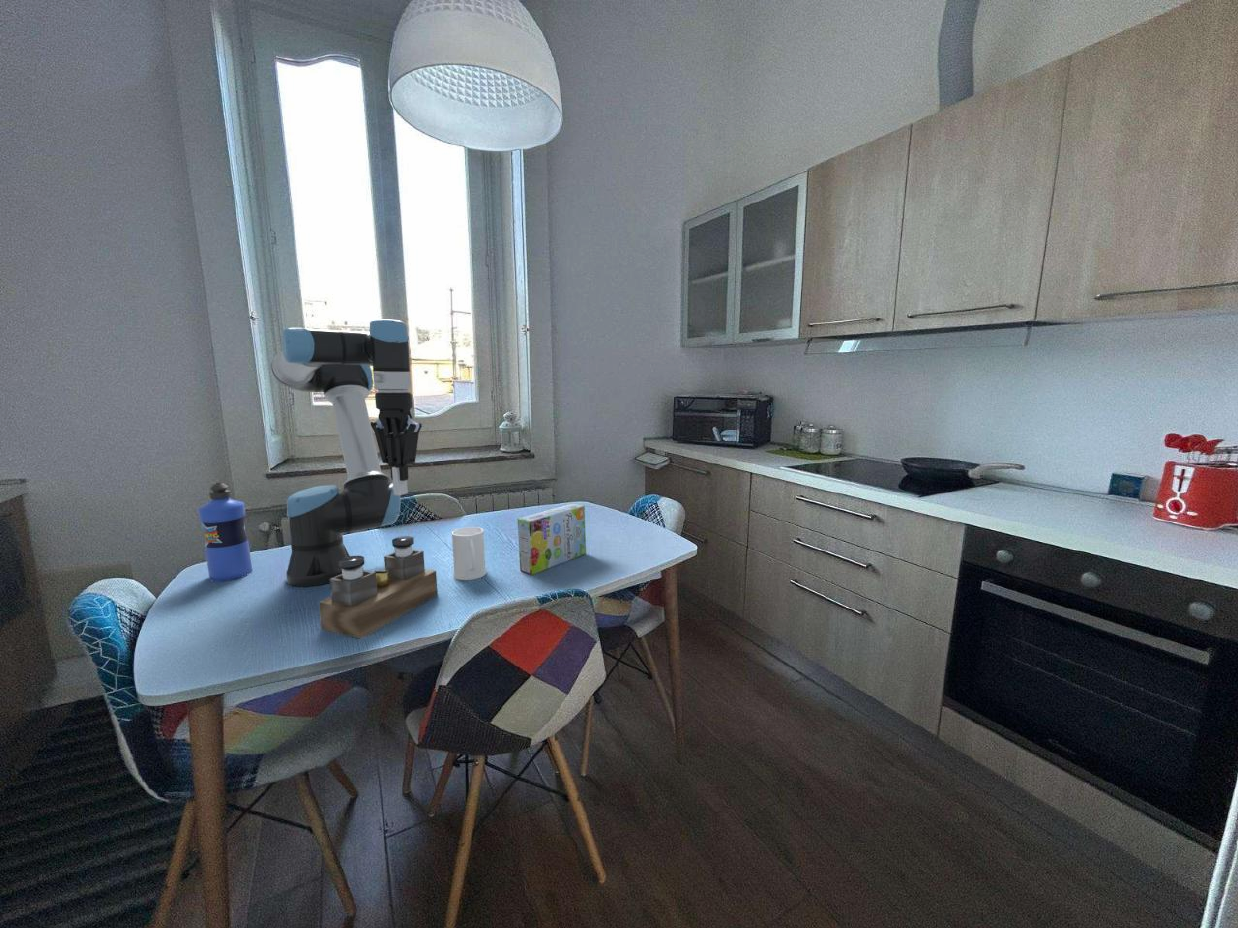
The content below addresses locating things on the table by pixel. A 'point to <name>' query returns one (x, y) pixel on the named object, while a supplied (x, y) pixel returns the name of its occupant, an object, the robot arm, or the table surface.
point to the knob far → (403, 546)
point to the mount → (377, 596)
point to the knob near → (352, 567)
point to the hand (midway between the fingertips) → (400, 493)
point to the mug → (468, 553)
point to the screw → (382, 578)
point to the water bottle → (225, 535)
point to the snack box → (551, 537)
